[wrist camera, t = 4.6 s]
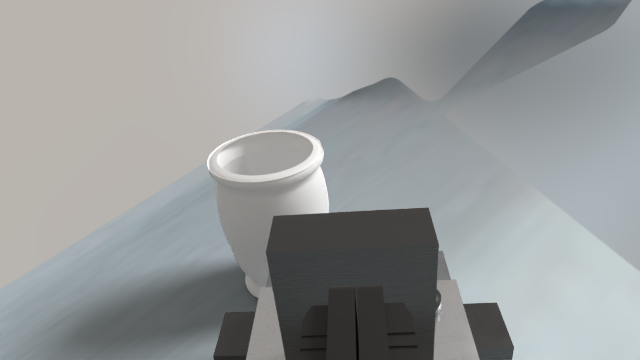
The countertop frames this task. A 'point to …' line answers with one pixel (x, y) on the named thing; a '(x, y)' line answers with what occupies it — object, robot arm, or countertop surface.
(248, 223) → the jar
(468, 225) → the countertop surface
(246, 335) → the grey rectangular container
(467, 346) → the lid
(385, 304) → the robot arm
